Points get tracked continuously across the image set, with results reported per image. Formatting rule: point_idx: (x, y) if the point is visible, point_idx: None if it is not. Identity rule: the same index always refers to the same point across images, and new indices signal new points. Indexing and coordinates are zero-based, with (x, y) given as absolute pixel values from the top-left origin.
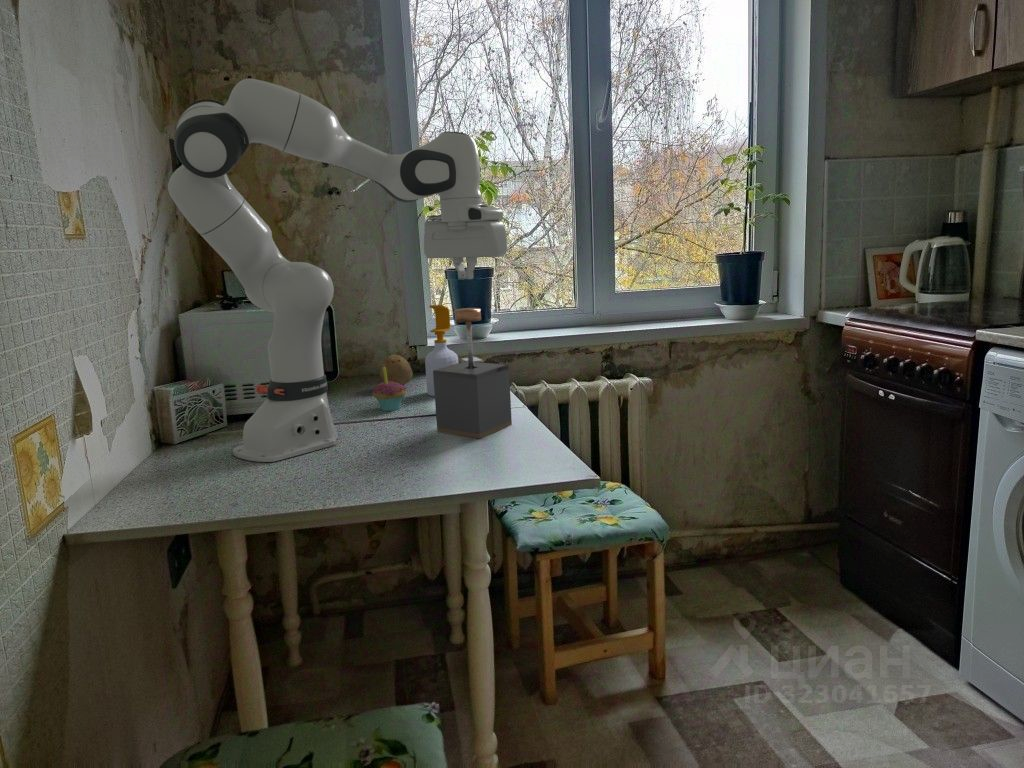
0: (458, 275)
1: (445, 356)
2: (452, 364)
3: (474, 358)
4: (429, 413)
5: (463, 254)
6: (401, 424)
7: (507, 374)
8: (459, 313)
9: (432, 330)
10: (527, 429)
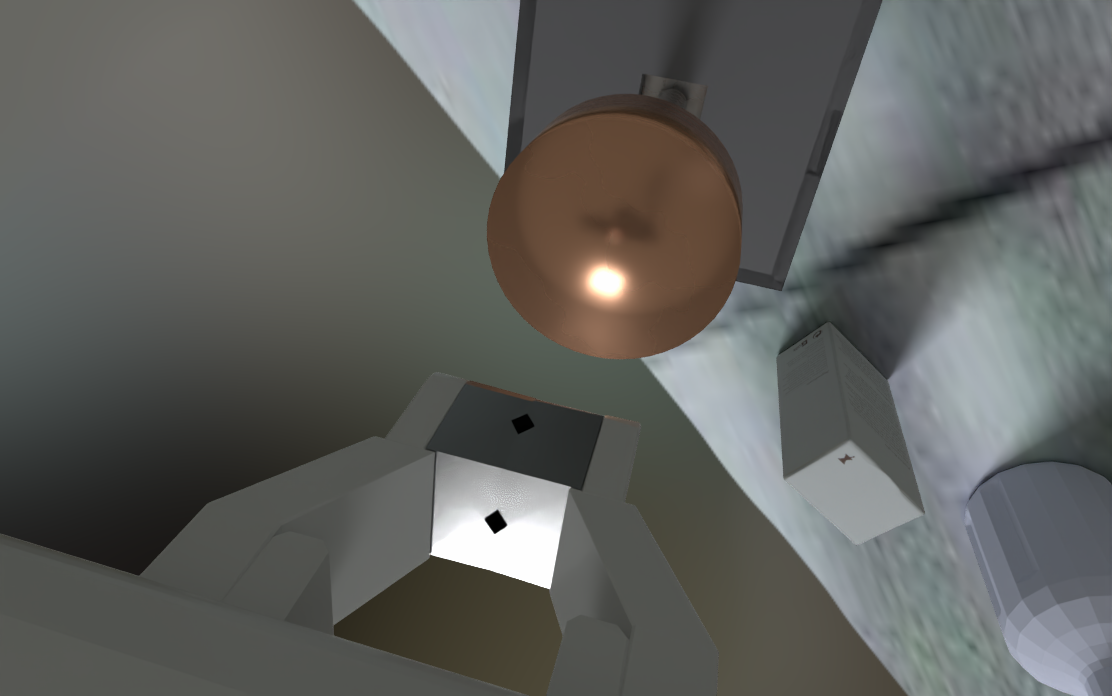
0: (624, 447)
1: (1064, 612)
2: (1015, 586)
3: (846, 510)
4: (1003, 224)
5: (199, 662)
6: (1100, 12)
7: None
8: (643, 118)
9: None
10: (486, 97)
